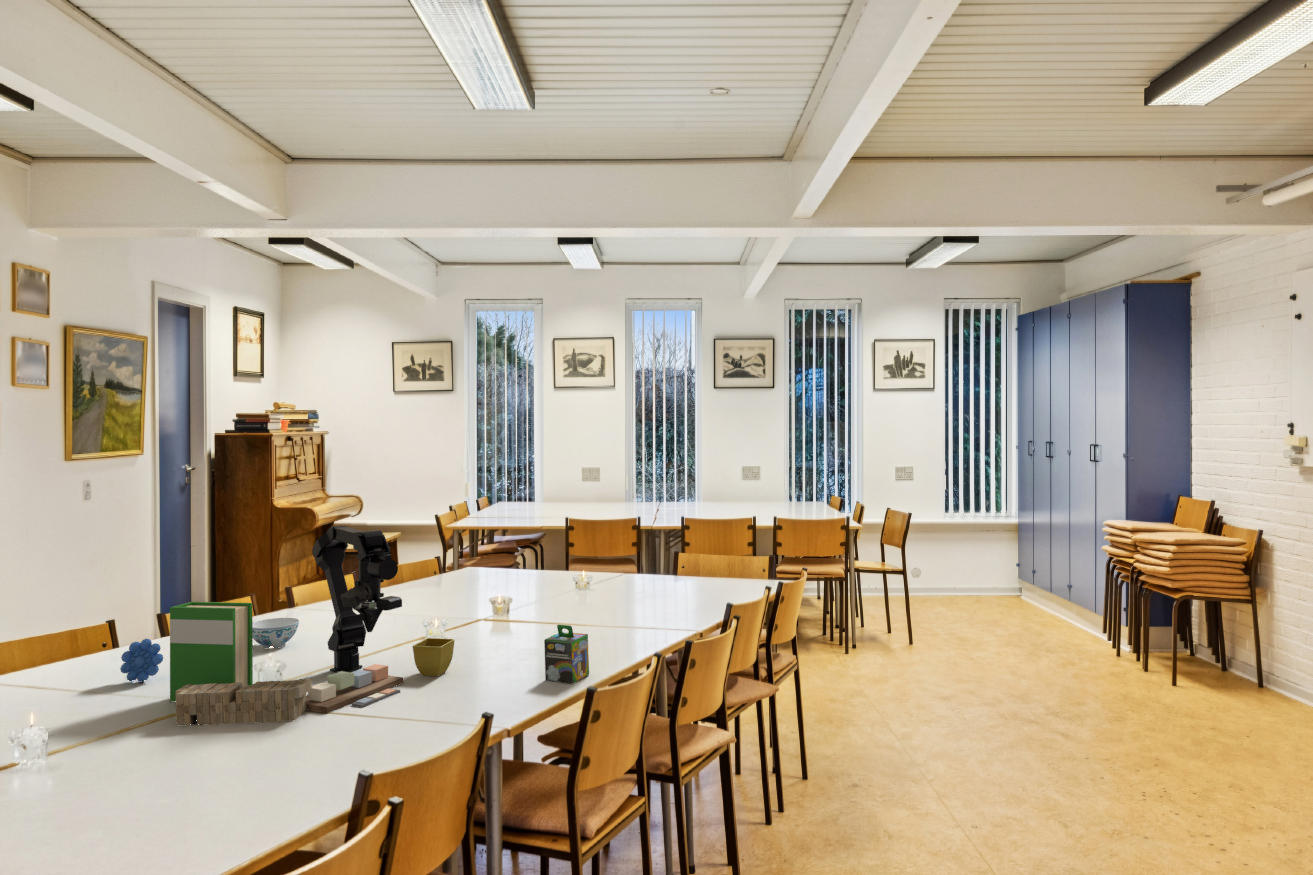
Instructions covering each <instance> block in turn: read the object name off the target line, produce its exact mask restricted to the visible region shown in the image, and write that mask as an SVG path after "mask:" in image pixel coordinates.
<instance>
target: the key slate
mask: <svg viewBox="0 0 1313 875" xmlns="http://www.w3.org/2000/svg"><path fill="white" fill-rule="evenodd" d="M350 673H354V685H352V686H350V687H356V688H360V687H363V686H365V685H368V684H371V683H372V672H370V671H363V669H356V670H353V671H350Z"/></svg>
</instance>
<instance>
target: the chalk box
mask: <svg viewBox="0 0 1313 875" xmlns="http://www.w3.org/2000/svg"><path fill="white" fill-rule="evenodd" d="M556 628H557V634H553V635H550V637H547V638H545V639H544V641H543V642H544V643H543V644H544V669H545V670H544V671H545V672H544V675H545V681H550V682H551V681H552V682H558V683H563V684H565V683H566V684H570V685H571V684H572V685H573V684H575V683H577V682H579V680H582V679H583V678H586V677H587V676H589V675H590V660H589V659H590V658H589V656H590V655H589V634H588V633H579V632H574V631H573V626H571V625H569V624H568V625H566V624H557V626H556ZM563 629H564V630H565V629H566V630H567V631H568V632H564V631H563Z"/></svg>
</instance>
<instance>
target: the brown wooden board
mask: <svg viewBox="0 0 1313 875" xmlns="http://www.w3.org/2000/svg"><path fill="white" fill-rule="evenodd" d="M401 683H402V684H404V677H401V676H397V675H395V676H394V675H389V674H388V677H387V678H384V679H381V680H379V681H372V683H371V684H368V685H365V686H363V687H360V688H356V687H347V688H344V689H342V690H339V689H336V697H333V698H331V699H328V700H325V701H323V702H319V701H313V700H308V694H306V710H305V711H312V712H317V713H323V714H328V713H331V712H334V710H335V711H336V710H339V709H342V708H344V706H345V707H347V706H349V705H352V703H354V702H356V701H358V700H360V699H363V698H366V697H368V696H371V695H373V694H376V693H379V692H381V691H383V690H386V689H389V688H391V689H393V688H395V687H397V686H399V684H400V685H402V684H401ZM396 685H397V686H396ZM394 686H395V687H394Z"/></svg>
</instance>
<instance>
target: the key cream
mask: <svg viewBox="0 0 1313 875" xmlns="http://www.w3.org/2000/svg"><path fill="white" fill-rule="evenodd" d="M307 693H308V694H307V695H308V700H313V701H319V702H323V701H325V700H328V699H331V698H333V697H336V684H330V683H327V682H321V683H320V682H319V683H318V684H314V685H312V689H311V690H309V691H308V692H307Z"/></svg>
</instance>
